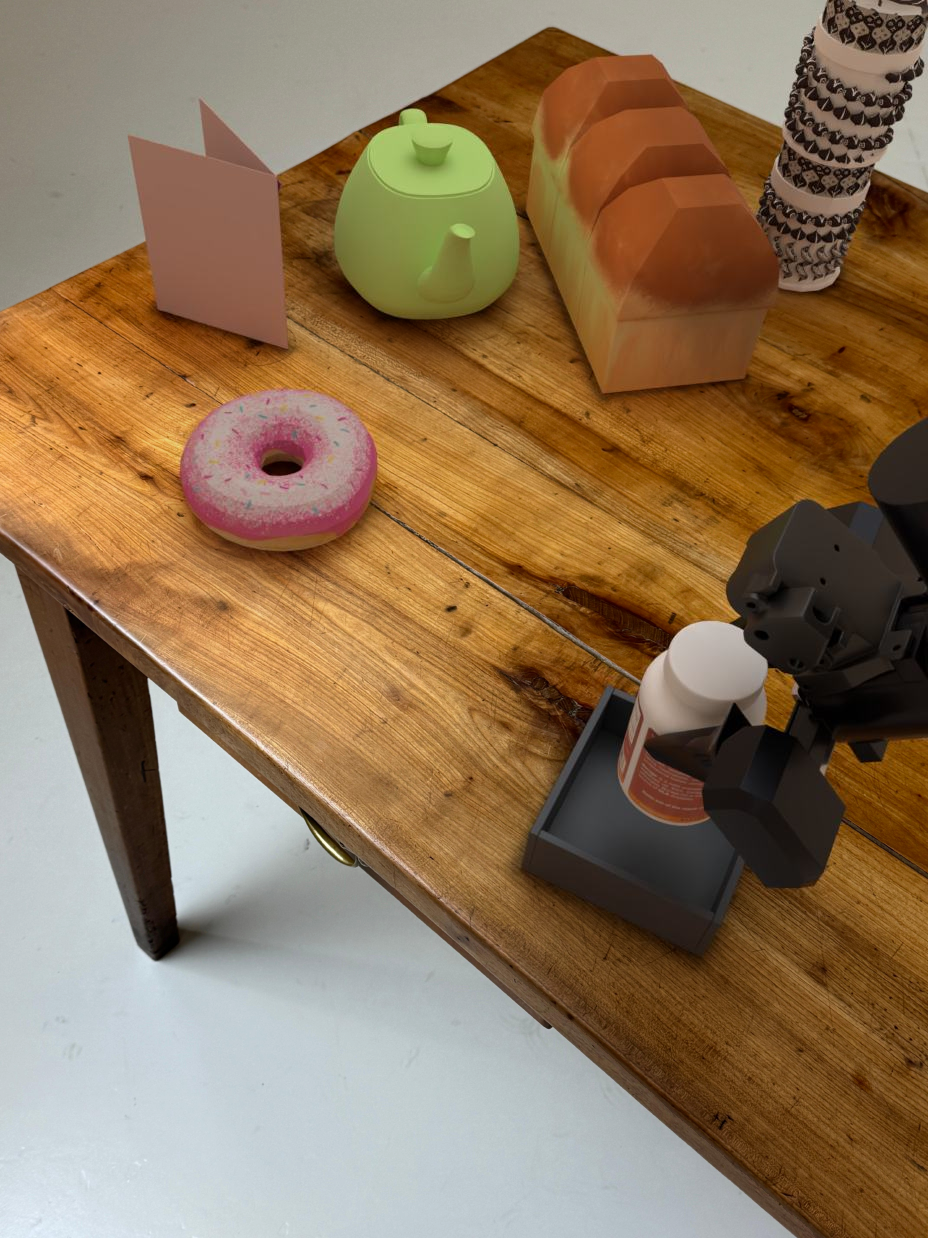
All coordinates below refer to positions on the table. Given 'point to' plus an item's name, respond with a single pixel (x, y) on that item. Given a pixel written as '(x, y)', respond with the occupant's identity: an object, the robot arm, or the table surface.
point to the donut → (279, 505)
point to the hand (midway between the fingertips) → (672, 700)
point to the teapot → (427, 222)
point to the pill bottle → (688, 713)
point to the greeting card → (213, 232)
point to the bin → (629, 843)
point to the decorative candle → (838, 132)
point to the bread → (646, 229)
